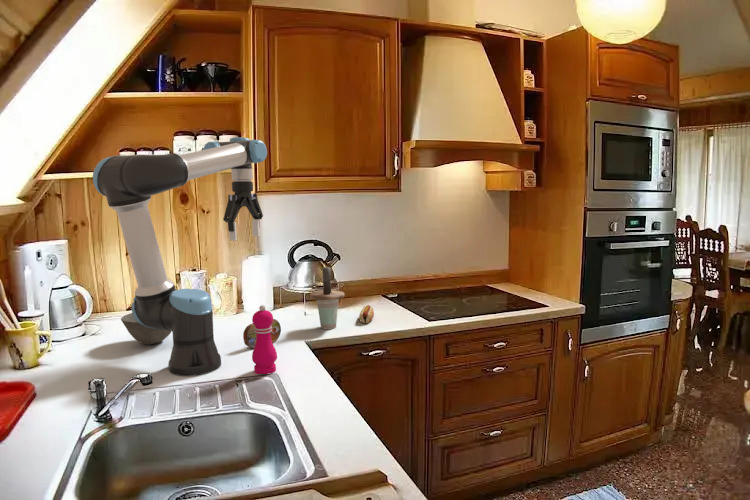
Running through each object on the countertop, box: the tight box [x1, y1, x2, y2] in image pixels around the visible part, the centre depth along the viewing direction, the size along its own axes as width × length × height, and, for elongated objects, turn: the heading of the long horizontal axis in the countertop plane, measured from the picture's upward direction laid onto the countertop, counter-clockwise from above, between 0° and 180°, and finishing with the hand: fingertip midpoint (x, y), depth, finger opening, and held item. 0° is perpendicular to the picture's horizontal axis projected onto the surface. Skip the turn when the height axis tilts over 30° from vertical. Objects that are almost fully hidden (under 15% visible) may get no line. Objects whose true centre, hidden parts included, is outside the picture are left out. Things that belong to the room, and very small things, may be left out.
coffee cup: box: [316, 299, 340, 330], centre depth 202 cm, size 9×8×12 cm
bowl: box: [120, 312, 173, 345], centre depth 186 cm, size 19×19×10 cm
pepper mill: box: [251, 304, 278, 375], centre depth 156 cm, size 7×7×20 cm
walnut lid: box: [309, 266, 345, 301], centre depth 200 cm, size 13×13×11 cm
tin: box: [242, 318, 282, 349], centre depth 182 cm, size 15×3×8 cm, turn 143°
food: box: [358, 304, 375, 324], centre depth 212 cm, size 14×6×5 cm, turn 175°
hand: (245, 238), depth 197 cm, fingers open, 13 cm apart
